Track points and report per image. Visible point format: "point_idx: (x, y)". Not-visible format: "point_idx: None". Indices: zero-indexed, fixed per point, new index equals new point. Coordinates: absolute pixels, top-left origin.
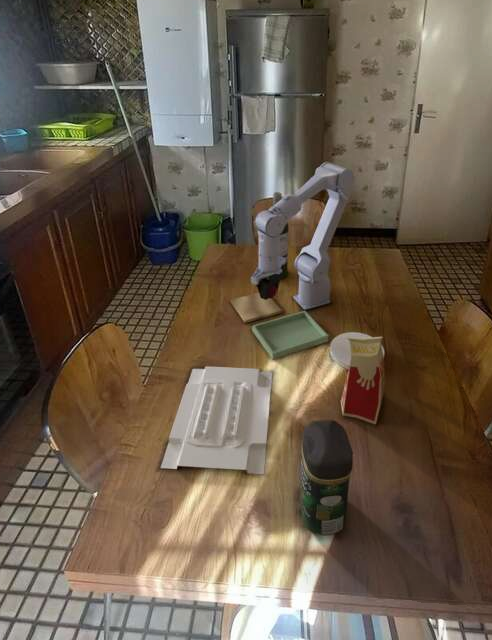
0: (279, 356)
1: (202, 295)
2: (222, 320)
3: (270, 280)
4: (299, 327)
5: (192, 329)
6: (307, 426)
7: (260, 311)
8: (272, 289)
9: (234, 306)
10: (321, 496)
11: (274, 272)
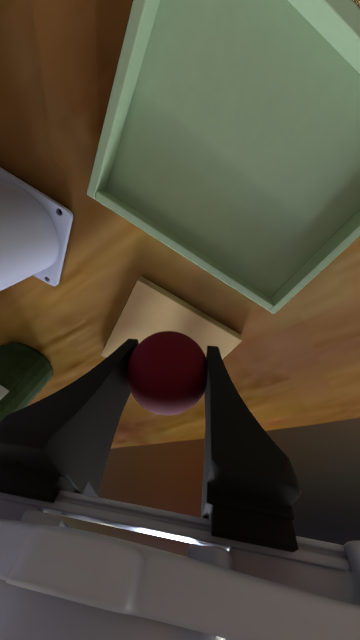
0: None
1: (194, 429)
2: (254, 377)
3: (220, 476)
4: (177, 160)
5: (312, 407)
6: None
7: (182, 326)
8: (176, 369)
9: None
10: None
11: (155, 595)
